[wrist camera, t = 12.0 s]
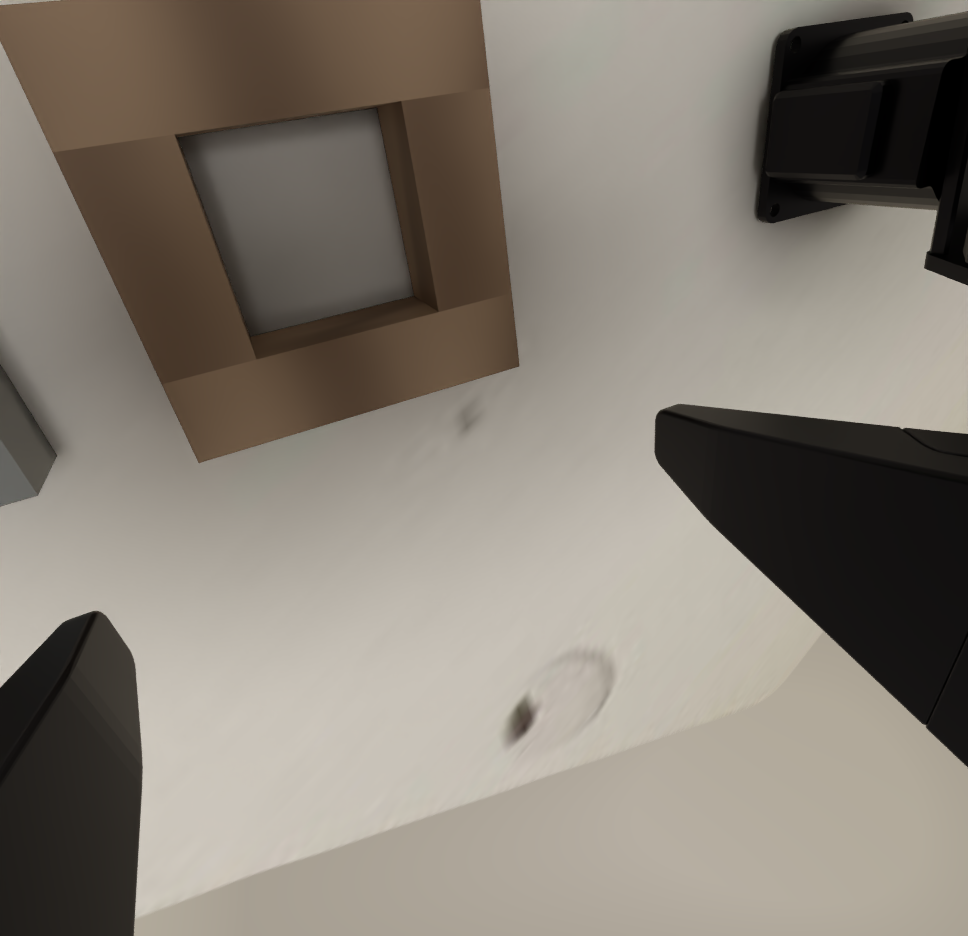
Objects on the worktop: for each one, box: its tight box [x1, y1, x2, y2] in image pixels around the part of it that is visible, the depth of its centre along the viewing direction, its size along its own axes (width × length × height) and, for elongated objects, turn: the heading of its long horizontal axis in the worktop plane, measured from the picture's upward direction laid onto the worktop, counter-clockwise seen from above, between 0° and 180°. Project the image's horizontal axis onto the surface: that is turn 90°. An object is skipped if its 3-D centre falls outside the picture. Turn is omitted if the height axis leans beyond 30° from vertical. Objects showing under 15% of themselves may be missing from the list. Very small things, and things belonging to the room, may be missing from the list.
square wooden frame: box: [0, 0, 519, 463], centre depth 16 cm, size 10×10×2 cm
